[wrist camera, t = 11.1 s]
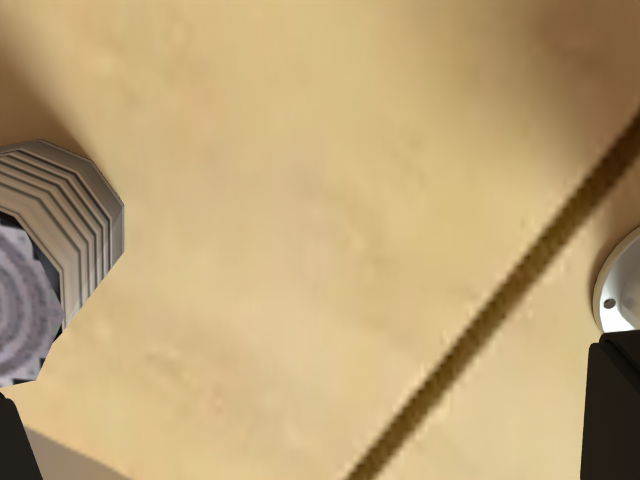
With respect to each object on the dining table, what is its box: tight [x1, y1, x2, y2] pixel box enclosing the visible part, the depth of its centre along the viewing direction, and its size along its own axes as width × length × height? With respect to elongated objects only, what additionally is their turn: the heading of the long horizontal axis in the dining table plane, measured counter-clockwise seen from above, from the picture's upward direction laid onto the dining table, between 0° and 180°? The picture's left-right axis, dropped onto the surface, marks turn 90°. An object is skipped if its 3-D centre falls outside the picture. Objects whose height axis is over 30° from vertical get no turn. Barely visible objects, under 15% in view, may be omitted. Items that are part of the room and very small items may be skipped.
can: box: [0, 139, 124, 387], centre depth 34 cm, size 11×11×12 cm
